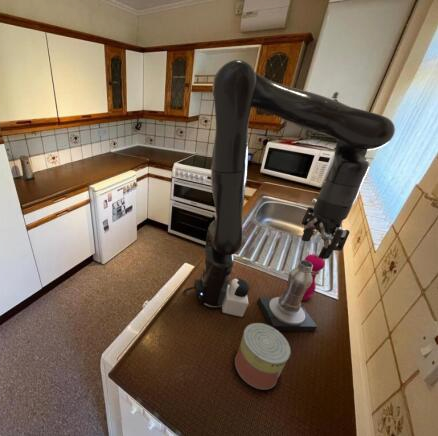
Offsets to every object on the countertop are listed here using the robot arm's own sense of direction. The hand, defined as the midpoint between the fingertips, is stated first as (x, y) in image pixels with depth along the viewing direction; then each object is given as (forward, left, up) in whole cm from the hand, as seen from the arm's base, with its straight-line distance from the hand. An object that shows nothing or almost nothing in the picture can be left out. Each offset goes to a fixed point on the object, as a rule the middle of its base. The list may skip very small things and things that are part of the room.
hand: (313, 249), depth 69 cm
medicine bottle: (-18, +4, -29) cm, 34 cm away
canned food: (-17, -18, -29) cm, 38 cm away
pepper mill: (+11, +10, -29) cm, 33 cm away
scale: (0, 0, -29) cm, 29 cm away
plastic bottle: (0, 0, -26) cm, 26 cm away
